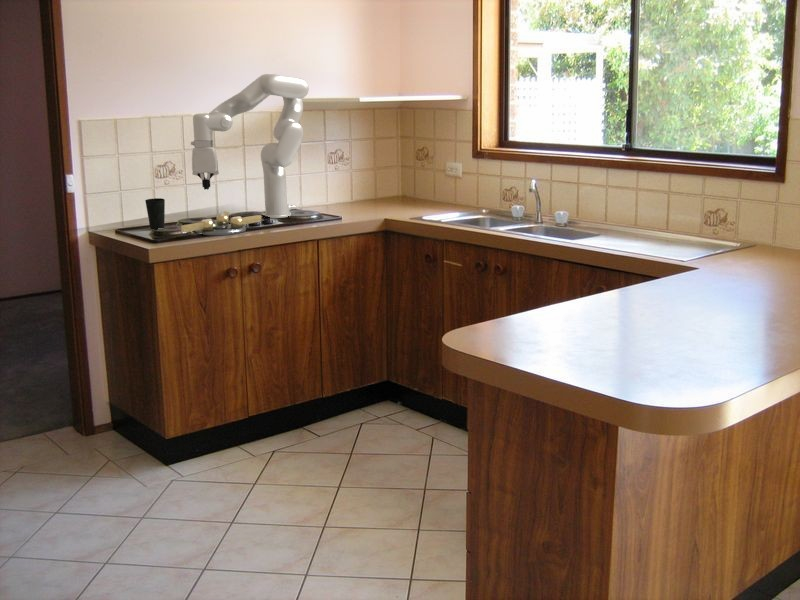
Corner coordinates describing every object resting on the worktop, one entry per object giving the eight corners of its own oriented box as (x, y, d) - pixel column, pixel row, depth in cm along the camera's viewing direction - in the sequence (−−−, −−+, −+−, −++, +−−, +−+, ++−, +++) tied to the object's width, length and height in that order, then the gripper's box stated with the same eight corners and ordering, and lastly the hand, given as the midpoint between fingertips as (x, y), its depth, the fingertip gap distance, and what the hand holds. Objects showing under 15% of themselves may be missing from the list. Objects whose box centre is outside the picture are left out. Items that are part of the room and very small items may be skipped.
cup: (155, 231, 364) (153, 202, 361) (143, 229, 369) (141, 200, 365) (170, 228, 370) (168, 199, 367) (159, 226, 375) (156, 197, 371)
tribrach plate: (225, 224, 377) (225, 218, 377) (256, 230, 364) (255, 223, 364) (185, 231, 363) (185, 225, 362) (215, 237, 350) (215, 231, 349)
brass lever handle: (235, 228, 360) (234, 218, 359) (228, 226, 364) (227, 216, 363) (263, 223, 370) (263, 213, 369) (257, 222, 373) (256, 212, 372)
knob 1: (228, 225, 367) (227, 215, 366) (216, 225, 367) (215, 215, 366) (232, 218, 381) (231, 209, 380) (221, 219, 381) (220, 209, 379)
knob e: (208, 228, 362) (208, 217, 361) (216, 229, 359) (215, 219, 358) (179, 233, 352) (178, 223, 351) (186, 234, 349) (185, 224, 348)
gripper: (183, 145, 365) (186, 190, 370) (220, 145, 366) (223, 190, 371) (187, 143, 373) (190, 187, 377) (223, 143, 373) (225, 187, 378)
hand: (206, 188), depth 374 cm, fingers closed
